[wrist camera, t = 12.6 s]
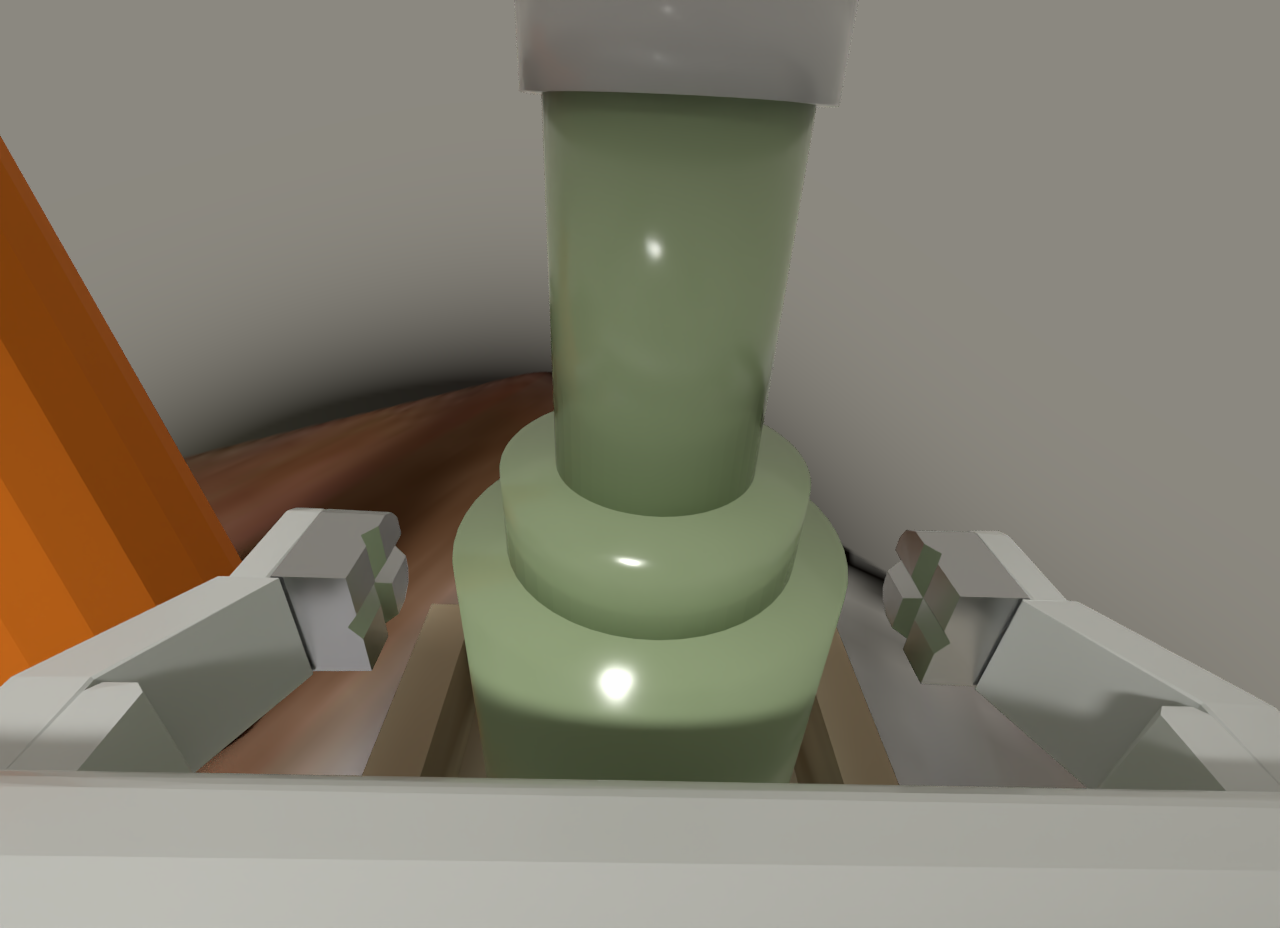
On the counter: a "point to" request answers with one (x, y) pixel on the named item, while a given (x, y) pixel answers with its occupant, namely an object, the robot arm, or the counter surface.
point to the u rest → (451, 745)
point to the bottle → (660, 408)
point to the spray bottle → (81, 460)
